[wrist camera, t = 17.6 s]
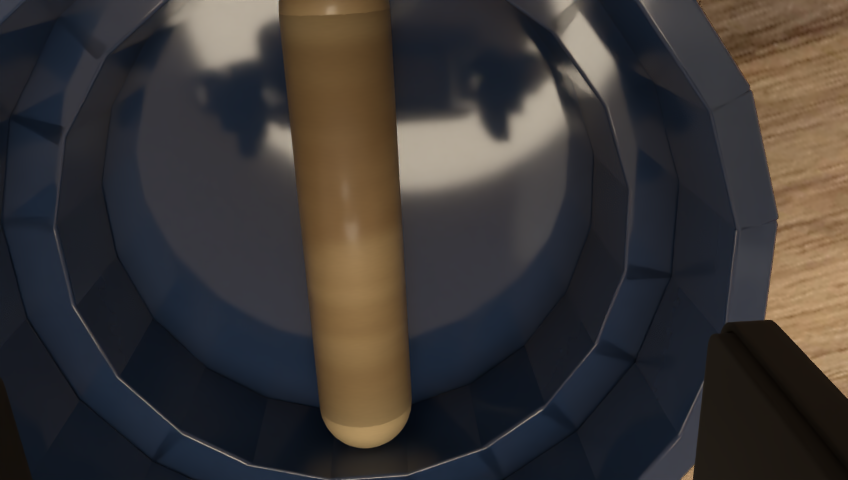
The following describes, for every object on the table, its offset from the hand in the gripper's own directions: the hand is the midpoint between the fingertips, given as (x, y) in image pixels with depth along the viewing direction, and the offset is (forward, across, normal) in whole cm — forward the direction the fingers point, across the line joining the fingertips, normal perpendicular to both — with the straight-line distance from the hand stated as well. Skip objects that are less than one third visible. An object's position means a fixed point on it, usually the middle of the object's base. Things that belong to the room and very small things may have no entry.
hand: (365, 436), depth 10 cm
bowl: (+11, +1, 0) cm, 11 cm away
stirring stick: (+10, +1, 0) cm, 10 cm away
